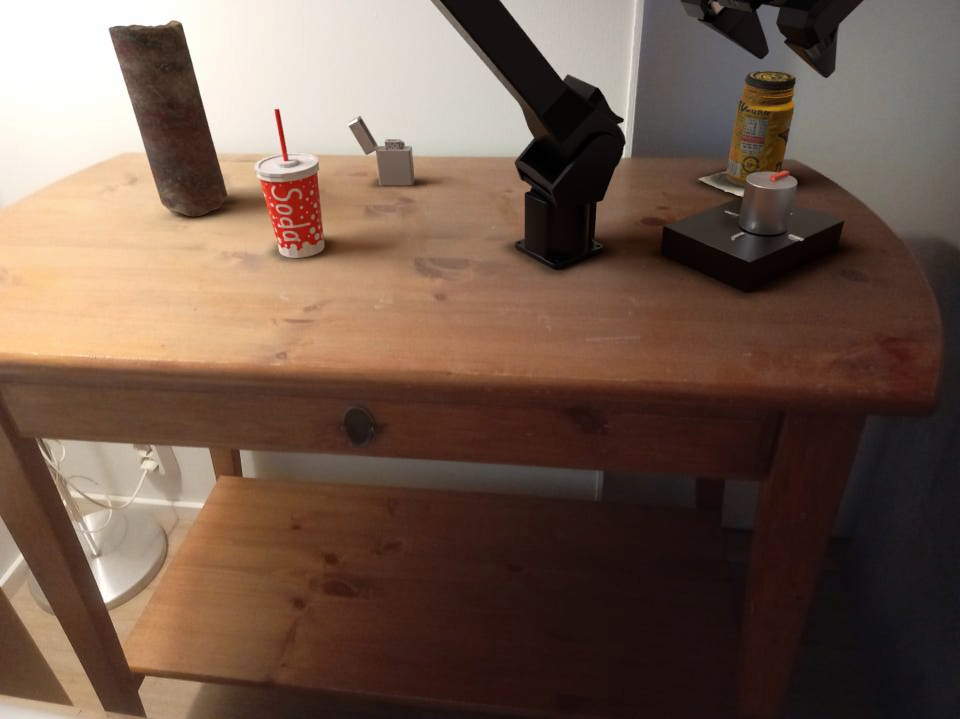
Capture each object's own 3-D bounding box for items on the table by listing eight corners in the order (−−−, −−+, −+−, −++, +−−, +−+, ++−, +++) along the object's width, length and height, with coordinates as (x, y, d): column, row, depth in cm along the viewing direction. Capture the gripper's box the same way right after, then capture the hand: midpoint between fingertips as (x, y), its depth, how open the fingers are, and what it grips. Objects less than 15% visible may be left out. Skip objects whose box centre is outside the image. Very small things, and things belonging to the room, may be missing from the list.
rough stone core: (147, 213, 85) (91, 26, 74) (190, 191, 91) (144, 13, 80) (201, 221, 83) (150, 28, 72) (241, 198, 88) (201, 16, 77)
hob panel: (747, 293, 65) (753, 261, 63) (659, 254, 72) (663, 224, 70) (840, 250, 72) (848, 219, 70) (751, 217, 79) (757, 189, 77)
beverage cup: (259, 257, 75) (229, 116, 67) (292, 232, 79) (267, 99, 72) (312, 264, 73) (287, 121, 65) (342, 239, 77) (322, 102, 70)
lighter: (414, 180, 91) (409, 114, 87) (412, 185, 90) (406, 118, 86) (358, 180, 92) (350, 115, 88) (355, 185, 91) (346, 119, 86)
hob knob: (767, 239, 67) (778, 188, 64) (728, 224, 70) (736, 175, 67) (797, 227, 69) (808, 177, 66) (758, 212, 72) (767, 164, 70)
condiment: (795, 183, 87) (818, 76, 80) (746, 199, 83) (766, 89, 76) (745, 166, 92) (762, 64, 85) (697, 181, 88) (711, 76, 81)
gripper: (893, -150, 55) (940, 17, 64) (734, -144, 69) (792, -9, 79) (780, -36, 56) (842, 111, 66) (647, -54, 71) (714, 68, 80)
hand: (795, 64), depth 73 cm, fingers open, 9 cm apart
